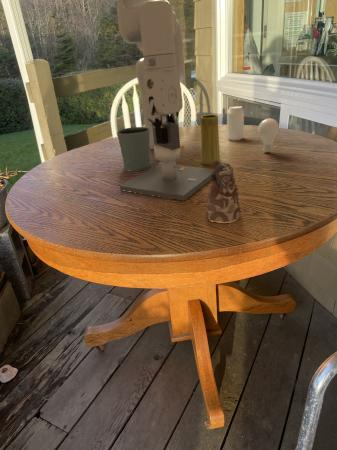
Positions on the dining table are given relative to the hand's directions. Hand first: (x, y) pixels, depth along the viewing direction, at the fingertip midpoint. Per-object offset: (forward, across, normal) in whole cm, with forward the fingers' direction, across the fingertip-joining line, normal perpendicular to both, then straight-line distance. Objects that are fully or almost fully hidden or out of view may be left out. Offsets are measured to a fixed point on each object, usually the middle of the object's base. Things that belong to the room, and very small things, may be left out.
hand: (167, 140), depth 84 cm
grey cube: (+4, +1, 0) cm, 5 cm away
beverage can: (+11, +49, +2) cm, 51 cm away
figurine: (+12, -13, -22) cm, 28 cm away
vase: (+12, +20, -2) cm, 24 cm away
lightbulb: (+12, +35, -16) cm, 40 cm away
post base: (+12, 0, +1) cm, 12 cm away
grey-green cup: (+12, +9, +19) cm, 24 cm away
